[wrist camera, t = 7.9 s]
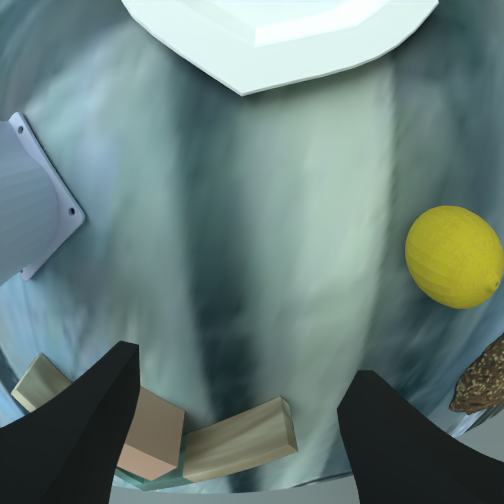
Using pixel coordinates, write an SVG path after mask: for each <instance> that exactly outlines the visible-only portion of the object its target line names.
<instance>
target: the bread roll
mask: <svg viewBox="0 0 504 504" xmlns="http://www.w3.org/2000/svg"><path fill="white" fill-rule="evenodd" d="M503 400H504V333H503V335H502V336H500V337H499V338H498V339H497V340H496V341H494V342H493V343H492V344H490V345H489V346H488V347H487V348H486V349H485V351H484V352H483V353H482V355H481V356H480V357H478V359H476V360H475V361H474V362H473V363H472V364H471V365H470V366H469V367H468V368H467V369H466V370H465V372H464V373H463V374H462V375H461V377H460V378H459V380H458V383H457V385H456V396H455V398H454V400H453V401H452V402H451V403H450V406H449V409H450V410H451V411H454V412H466V413H467V415H471V414H472V413H476V412H478V411H481V410H484V409H488V408H493V407H494V406H495V405H497V404H500V403H502V401H503Z"/></svg>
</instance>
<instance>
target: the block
mask: <svg viewBox="0 0 504 504" xmlns="http://www.w3.org/2000/svg"><path fill="white" fill-rule="evenodd" d="M184 415H185V410H183V409H181V408H179V407H177V406H175V405H173V404H171V403H169V402H167V401H166V400H164V399H162V398H160V397H158V396H157V395H155V394H153V393H151V392H149V391H148V390H146V389H144V388H143V387H141V386H140V393H139V398H138V402H137V406H136V411H135V415H134V418H133V421H132V423H131V426H130V429H129V432H128V435H127V438H126V440H125V443H124V446H123V449H122V452H121V455H120V458H119V461H118V464H117V466H118V467H120V468H122V469H124V470H127V471H129V472H131V473H133V474H136V475H138V476H140V477H143V478H145V479H147V480H150V481H152V480H154V479H156V478H158V477H160V476H162V475H164V474H166V473H167V472H169V471H171V470H173V469H175V468H177V467H178V459H179V451H180V444H181V436H182V429H183V422H184Z"/></svg>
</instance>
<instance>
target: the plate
mask: <svg viewBox="0 0 504 504" xmlns="http://www.w3.org/2000/svg"><path fill="white" fill-rule="evenodd" d="M121 1H122V2H123V4H124V5H125V7H126V8H127V10H128V11H129V13H130V14H131V16H132V17H133V18H134V19H135V20H136V21H137V22H138V23H139V24H140V25H142V26H143V27H144V28H145V29H146V30H147V31H148V32H149V33H150V34H151V35H153V36H154V37H155V38H157V39H158V40H160V41H161V42H162V43H164V44H165V45H166V46H168V47H169V48H170V49H172V50H173V51H174V52H176V53H177V54H178V55H180V56H182V57H183V58H185V59H186V60H188V61H189V62H191V63H192V64H194V65H195V66H197V67H198V68H200V69H201V70H203V71H204V72H205V73H207V74H208V75H210V76H211V77H213V78H214V79H216V80H218V81H219V82H221V83H222V84H224V85H225V86H227V87H228V88H230V89H231V90H233V91H234V92H236V93H237V94H239V95H240V96H245V95H249V94H252V93H256V92H260V91H264V90H268V89H272V88H277V87H281V86H285V85H289V84H293V83H297V82H302V81H306V80H311V79H315V78H320V77H324V76H327V75H330V74H334V73H337V72H341V71H345V70H348V69H352V68H355V67H358V66H360V65H362V64H365V63H367V62H370V61H372V60H375V59H378V58H379V57H381V56H383V55H384V54H386V53H388V52H389V51H391V50H393V49H394V48H396V47H398V46H399V45H400V44H401V43H402V42H403V41H404V40H406V39H407V38H408V37H409V36H410V35H411V34H413V33H414V32H415V31H416V30H417V29H418V27H419V26H420V25H421V24H422V23H423V22H424V21H425V19H426V18H427V17H428V16H429V15H430V14H431V12H432V11H433V10H434V9H435V7H436V6H437V5H438V4H439V2H438V0H121Z"/></svg>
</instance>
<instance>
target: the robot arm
mask: <svg viewBox="0 0 504 504" xmlns="http://www.w3.org/2000/svg"><path fill="white" fill-rule="evenodd" d="M22 127H23V132H22ZM71 208H73V209H74V210H75V214H73V213H72V212H71ZM84 221H85V214H84V212H83V211H82V209H81V208H80V206H79V205H78V204H77V202H76V201H75V199H74V198H73V196H72V195H71V193H70V192H69V190H68V189H67V187H66V186H65V184H64V183H63V181H62V180H61V178H60V177H59V175H58V174H57V172H56V171H55V169H54V167H53V166H52V164H51V163H50V161H49V159H48V158H47V156H46V155H45V153H44V151H43V150H42V148H41V146H40V145H39V143H38V141H37V139H36V138H35V136H34V134H33V132H32V131H31V129H30V127H29V125H28V124H27V122H26V120H25V118H24V116H23V114H22V113H20V112H16V113H14V114H13V116H12V117H11V118H10V120H9V121H0V286H2V285H3V284H4V283H5V282H7V281H8V280H9V279H10V278H12V277H13V276H14V275H16V274H17V273H18V274H19V275H20V276H21V278H22V279H23V280H24V281H28V280H29V279H31V277H32V276H33V275H34V274H35V273H36V272H37V271H38V269H39V268H40V267H41V266H42V265H43V264H44V263H45V262H46V261H47V259H48V258H49V257H50V256H51V255H52V254H53V253H54V252H55V251H56V250H57V249H58V248H59V247H60V246H61V245H62V244H63V242H64V241H65V240H66V239H67V238H68V237H69V236H70V235H71V234H72V233H73V232H74V231H75V230H76V229H77V228H78V227H79V226H80V225H81V224H82V223H83V222H84ZM22 269H23V270H22ZM139 393H140V367H139V345H137V344H133V343H128V342H124V341H119V342H118V343H117V344H116V345H115V346H114V347H112V348H111V349H110V350H109V351H108V352H107V353H106V354H105V355H104V356H103V357H102V358H101V359H100V360H99V361H97V362H96V363H95V364H94V365H93V366H92V367H91V368H90V369H88V370H87V371H86V372H85V373H84V374H83V375H82V376H80V377H79V378H78V379H77V380H76V381H74V382H73V383H72V384H71V385H69V386H68V387H67V388H65V389H64V390H63V391H62V392H60V393H59V394H58V395H56V396H55V397H54V398H52V399H51V400H49V401H48V402H46V403H45V404H43V405H42V406H40V407H39V408H37V409H35V410H34V411H32V412H31V413H29V414H27V415H25V416H23V417H22V418H20V419H18V420H16V421H14V422H12V423H10V424H8V425H6V426H4V427H2V428H0V504H109V498H110V492H111V487H112V482H113V477H114V474H115V470H116V467H117V464H118V461H119V458H120V455H121V452H122V449H123V446H124V443H125V440H126V438H127V435H128V432H129V429H130V426H131V423H132V421H133V418H134V415H135V411H136V406H137V402H138V398H139ZM337 414H338V421H339V427H340V432H341V436H342V439H343V443H344V446H345V449H346V452H347V456H348V459H349V462H350V465H351V468H352V471H353V475H354V478H355V481H356V485H357V489H358V494H359V499H360V504H504V462H502V461H499V460H496V459H494V458H491V457H489V456H486V455H484V454H482V453H479V452H478V451H476V450H474V449H472V448H470V447H468V446H466V445H464V444H463V443H461V442H459V441H458V440H456V439H455V438H453V437H452V436H450V435H449V434H447V433H446V432H444V431H443V430H441V429H440V428H439V427H437V426H436V425H435V424H434V423H432V422H431V421H430V420H429V419H427V418H426V417H425V416H424V415H422V414H421V413H420V412H419V411H418V410H417V409H415V408H414V407H413V406H412V405H411V404H410V403H409V402H408V401H407V400H405V399H404V398H403V397H402V396H401V395H400V394H399V393H398V392H397V391H396V390H395V389H393V388H392V387H391V386H390V385H389V384H388V383H387V382H386V381H385V380H384V379H382V378H381V377H380V376H379V375H378V374H376V373H375V372H374V371H373V370H358V371H357V373H356V375H355V377H354V379H353V381H352V383H351V385H350V386H349V388H348V390H347V392H346V394H345V395H344V397H343V399H342V401H341V403H340V404H339V406H338V408H337Z"/></svg>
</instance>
